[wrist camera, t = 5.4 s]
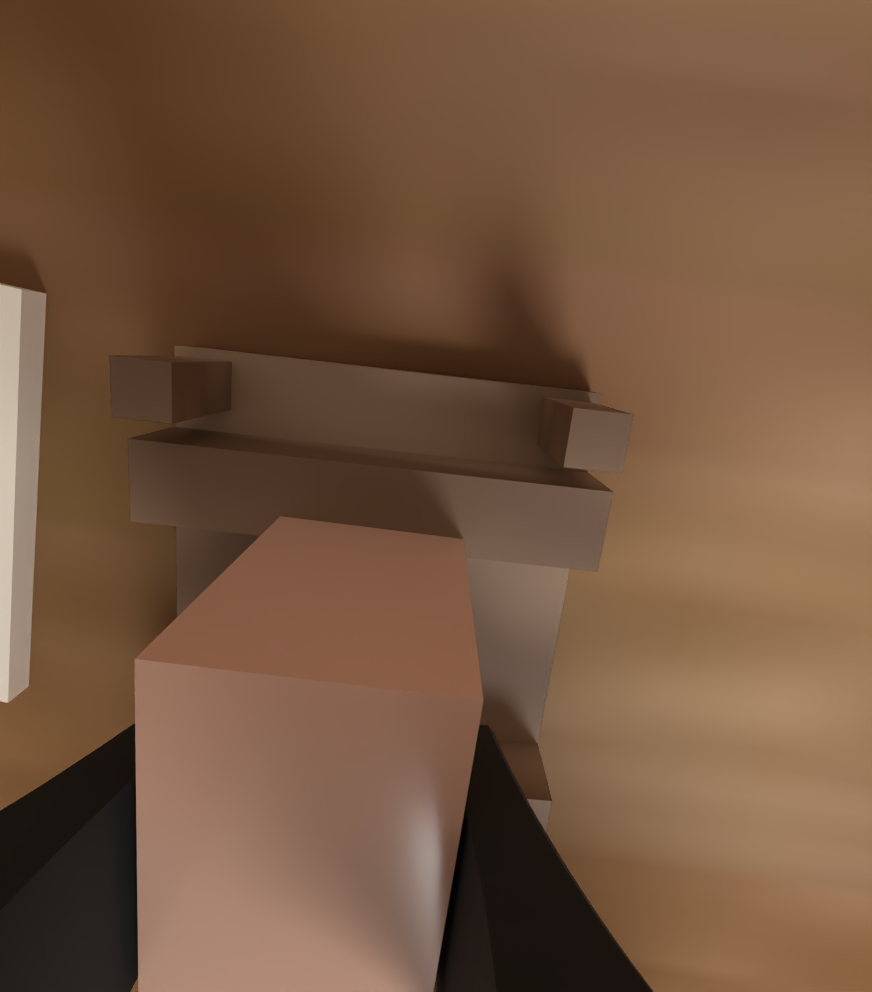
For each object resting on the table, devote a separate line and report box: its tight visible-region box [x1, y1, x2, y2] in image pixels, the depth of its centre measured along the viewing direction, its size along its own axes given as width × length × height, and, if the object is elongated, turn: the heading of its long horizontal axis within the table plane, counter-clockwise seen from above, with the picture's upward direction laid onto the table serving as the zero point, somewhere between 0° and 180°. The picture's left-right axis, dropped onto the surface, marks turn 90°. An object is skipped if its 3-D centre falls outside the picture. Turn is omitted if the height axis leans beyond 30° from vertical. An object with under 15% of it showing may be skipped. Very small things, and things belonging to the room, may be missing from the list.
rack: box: [109, 345, 634, 832], centre depth 12 cm, size 12×9×3 cm
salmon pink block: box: [134, 516, 483, 992], centre depth 9 cm, size 10×4×5 cm, turn 173°
